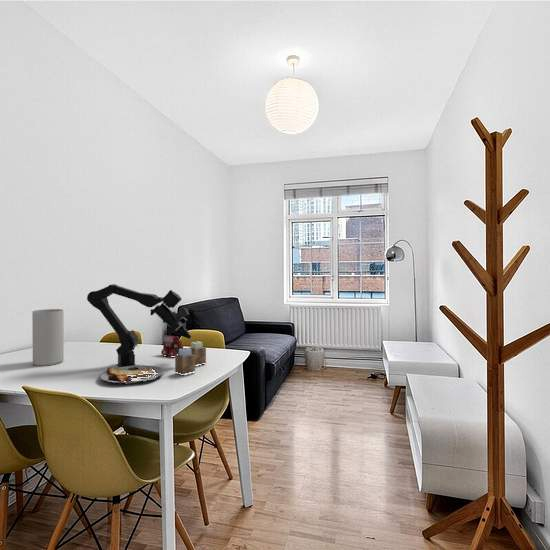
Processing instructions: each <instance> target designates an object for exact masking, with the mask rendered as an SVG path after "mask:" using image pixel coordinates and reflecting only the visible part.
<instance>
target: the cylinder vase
mask: <svg viewBox="0 0 550 550" xmlns="http://www.w3.org/2000/svg"><path fill="white" fill-rule="evenodd" d="M31 314H32V316H31V318H32V319H31V320H32V325H31V326H32V327H31V328H32V331H31V333H32V334H31V335H32V364H33V365H34V366H37V367H38V366H39V367H45V366H46V365H48V366H53V365H57V364H61V363H62V362H64V357H65V356H64V355H65V353H64V348H65V347H64V344H65V343H64V334H65V333H64V309H62V308H53V309H51V308H48V309H46V308H45V309H36V310H33V311H31ZM46 367H47V366H46Z"/></svg>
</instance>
